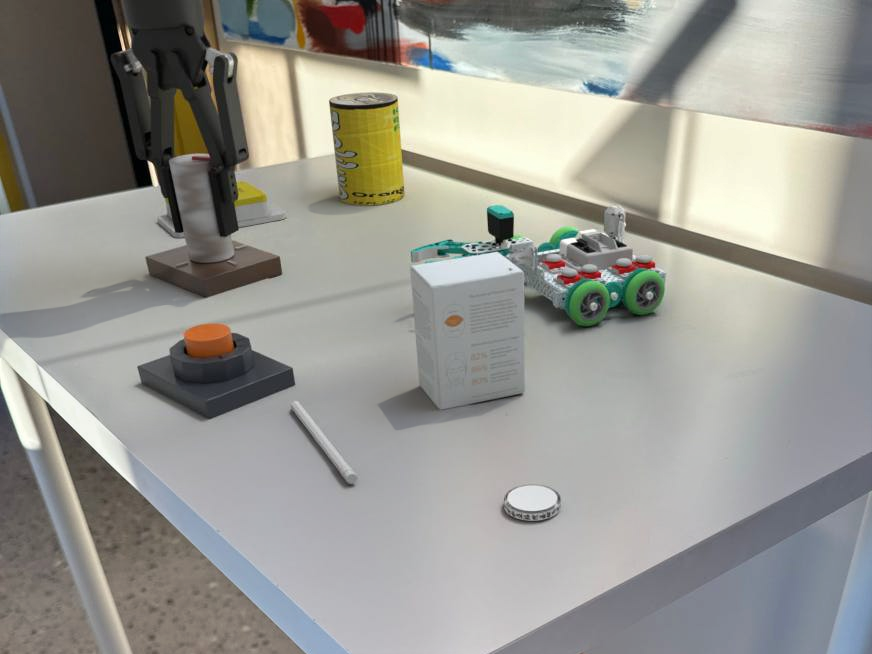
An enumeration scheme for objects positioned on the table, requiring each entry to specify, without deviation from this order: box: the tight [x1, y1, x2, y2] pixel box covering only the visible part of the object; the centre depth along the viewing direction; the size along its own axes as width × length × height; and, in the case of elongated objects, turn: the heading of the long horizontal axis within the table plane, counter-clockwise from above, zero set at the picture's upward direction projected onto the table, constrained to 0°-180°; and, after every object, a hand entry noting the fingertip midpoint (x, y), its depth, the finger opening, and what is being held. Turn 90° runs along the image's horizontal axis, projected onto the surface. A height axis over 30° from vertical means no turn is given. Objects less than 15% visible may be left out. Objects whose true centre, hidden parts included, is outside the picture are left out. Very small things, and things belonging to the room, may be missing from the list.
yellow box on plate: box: [156, 180, 287, 239], centre depth 126 cm, size 9×4×15 cm
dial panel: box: [144, 239, 283, 299], centre depth 109 cm, size 12×10×2 cm
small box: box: [409, 252, 526, 411], centre depth 81 cm, size 8×6×10 cm
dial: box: [169, 153, 234, 263], centre depth 106 cm, size 5×5×10 cm
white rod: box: [290, 400, 358, 485], centre depth 77 cm, size 1×1×15 cm
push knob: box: [183, 322, 234, 358], centre depth 84 cm, size 4×4×2 cm
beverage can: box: [328, 91, 405, 206], centre depth 130 cm, size 9×9×12 cm
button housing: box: [136, 332, 296, 420], centre depth 85 cm, size 11×9×4 cm
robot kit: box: [410, 204, 667, 327], centre depth 98 cm, size 19×25×9 cm
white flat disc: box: [503, 484, 562, 522], centre depth 68 cm, size 4×4×1 cm
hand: (207, 230), depth 107 cm, fingers closed on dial, 5 cm apart
